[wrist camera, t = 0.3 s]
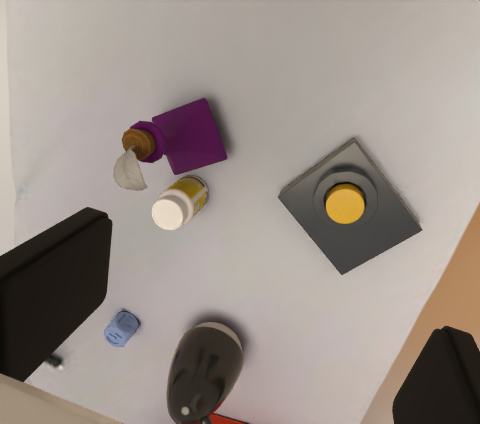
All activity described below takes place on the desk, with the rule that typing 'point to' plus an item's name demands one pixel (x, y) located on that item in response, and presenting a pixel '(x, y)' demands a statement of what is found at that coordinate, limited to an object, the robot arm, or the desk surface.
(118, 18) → the desk surface
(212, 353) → the pump dispenser
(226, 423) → the file binder
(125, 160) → the perfume bottle
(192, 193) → the supplement bottle
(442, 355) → the robot arm
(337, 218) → the button
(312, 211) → the console
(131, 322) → the decorative dice
